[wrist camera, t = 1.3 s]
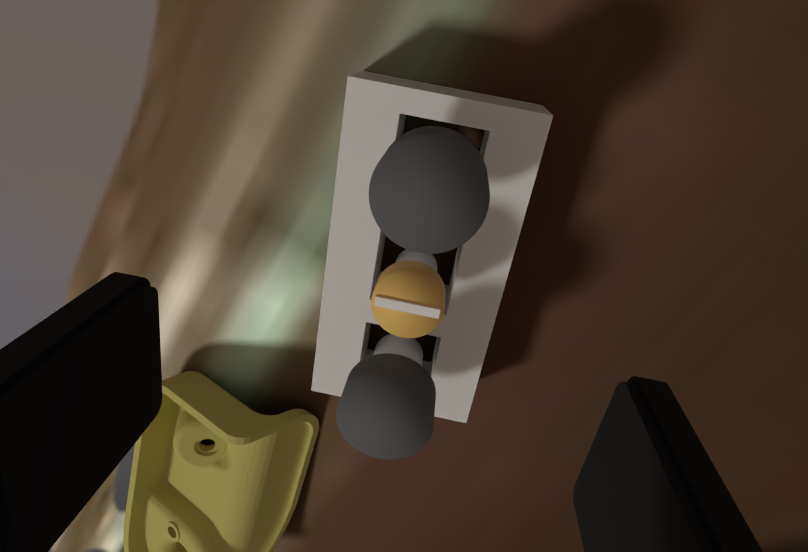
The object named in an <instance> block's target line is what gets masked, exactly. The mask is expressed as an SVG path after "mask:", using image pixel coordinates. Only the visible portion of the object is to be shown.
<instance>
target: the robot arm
mask: <svg viewBox="0 0 808 552" xmlns="http://www.w3.org/2000/svg"><path fill="white" fill-rule="evenodd" d="M161 404H162V375H161V352H160V328H159V305H158V292H157V290H156V288H154V287H151V285H150V283H149V280H148V279H146V278H143V277H138V276H133V275H129V274H124V273H118V272H114V273H112V274H110V275H108V276H107V277H106V278H104V279H103V280H101V281H100V282H98V283H97V284H95V285H94V286H92V287H91V288H89V289H88V290H87V291H85V292H84V293H82V294H81V295H79V296H78V297H76V298H75V299H73V300H72V301H70V302H69V303H68V304H66V305H65V306H63V307H62V308H60V309H59V310H57V311H56V312H55V313H53V314H52V315H50V316H49V317H48V318H46V319H44V320H43V321H41V322H40V323H38V324H37V325H35V326H34V327H33V328H31V329H30V330H28V331H27V332H25V333H24V334H22V335H21V336H19V337H18V338H17V339H15V340H14V341H12V342H11V343H9V344H8V345H6V346H5V347H3V348H2V349H0V552H48V551H49V550H50V548H51V547H52V546H53V545H54V543H55V542H56V541H57V540H58V538H59V537H60V536H61V535H62V533H63V532H64V531H65V530H66V528H67V527H68V526H69V525H70V523H71V522H72V521H73V520H74V518H75V517H76V516H77V515H78V514H79V512H80V511H81V510H82V509H83V507H84V506H85V505H86V504H87V502H88V501H89V500H90V499H91V497H92V496H93V495H94V494H95V492H96V491H97V490H98V489H99V487H100V486H101V485H102V484H103V482H104V481H105V480H106V479H107V477H108V476H109V475H110V474H111V472H112V471H113V470H114V469H115V467H116V466H117V465H118V464H119V462H120V461H121V460H122V459H123V457H124V456H125V455H126V454H127V452H128V451H129V450H130V449H131V447H132V446H133V445H134V444H135V443H136V441H137V440H138V439H139V438H140V436H141V435H142V434H143V433H144V431H145V430H146V429H147V428H148V426H149V425H150V424H151V423H152V421H153V420H154V419H155V418H156V416H157V415H158V413H159V410H160V408H161ZM573 501H574V507H575V511H576V516H577V520H578V525H579V529H580V533H581V538H582V542H583V547H584V551H585V552H763V551H762V549H761V548H760V546H759V544H758V542H757V541H756V539H755V537H754V535H753V534H752V532H751V530H750V528H749V527H748V525H747V523H746V521H745V519H744V518H743V516H742V514H741V512H740V511H739V509H738V507H737V505H736V504H735V502H734V500H733V498H732V497H731V495H730V493H729V491H728V490H727V488H726V486H725V484H724V482H723V481H722V479H721V477H720V475H719V474H718V472H717V470H716V468H715V467H714V465H713V463H712V461H711V460H710V458H709V456H708V454H707V452H706V451H705V449H704V447H703V445H702V444H701V442H700V440H699V438H698V437H697V435H696V433H695V431H694V430H693V428H692V426H691V424H690V422H689V421H688V419H687V417H686V415H685V414H684V412H683V410H682V408H681V407H680V405H679V403H678V401H677V400H676V398H675V396H674V394H673V393H672V391H671V389H670V387H669V386H668V385H667V383H665V382H662V381H657V380H652V379H647V378H642V377H637V376H633V377H631V378H630V379H629V380H628V382H620V383H619V384H618V385H617V387H616V389H615V392H614V394H613V396H612V399H611V401H610V403H609V406H608V408H607V410H606V413H605V415H604V417H603V420H602V422H601V425H600V427H599V429H598V432H597V434H596V436H595V439H594V441H593V443H592V446H591V448H590V450H589V453H588V455H587V457H586V460H585V462H584V465H583V467H582V469H581V472H580V474H579V476H578V479H577V481H576V484H575V487H574V494H573Z"/></svg>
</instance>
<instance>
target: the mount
mask: <svg viewBox="0 0 808 552" xmlns="http://www.w3.org/2000/svg"><path fill="white" fill-rule="evenodd" d="M406 115H410V116H416V117H421V118H426V119H431V120H436V121H441V122H446V123H452V124H457V125H462V126H467V127H472V128H477V129H483V130H485V132H484V136H483V140H482V144H481V149H480V153H481V155H482V157H483V159H484V162H485V165H486V169H487V174H488V182H489V190H490V202H489V208H488V212H487V215H486V218H485V220H484V222H483V224H482V225H481V227H480V228H479V230H478V231H477V232H476V233H475V235H474V236H473V237H472V238H470V239H469V240H468V241H467V242H465V243H464V244H463V245H461V246H459V247H458V248H457V252H456V256H455V261H454V265H453V269H452V274H451V278H450V282H449V285H445V291H446V297H445V309H444V315H443V318H442V320H441V322H440V323H439V325H438V326H437V327H436V328H435V329H434V330H433V331H432V332H430V333H428V334H426V335H431V336H436V337H437V338H436V343H435V347H434V351H433V356H432V360H431V362H428V361H423V360H422V366H423V367H424V368H425V369H426V370H427V372H428V373H429V374H430V376H431V377H432V379H433V381H434V384H435V389H436V401H435V413H434V416H435V417H440V418H445V419H449V420H454V421H459V422H464V423H466V422H467V418H468V414H469V411H470V407H471V404H472V400H473V397H474V393H475V390H476V386H477V383H478V379H479V376H480V372H481V369H482V365H483V362H484V358H485V355H486V351H487V348H488V344H489V340H490V337H491V333H492V330H493V326H494V323H495V319H496V316H497V312H498V309H499V305H500V302H501V298H502V295H503V291H504V288H505V284H506V281H507V277H508V274H509V270H510V267H511V263H512V259H513V256H514V252H515V249H516V245H517V242H518V238H519V235H520V231H521V228H522V224H523V221H524V217H525V214H526V210H527V207H528V203H529V200H530V196H531V193H532V189H533V185H534V182H535V178H536V175H537V171H538V168H539V164H540V161H541V157H542V154H543V150H544V147H545V143H546V140H547V136H548V133H549V129H550V126H551V122H552V119H553V115H552V114H551V113H550V112H549V111H548V110H547V109H546V108H545V107H544V106H543V105H539V104H533V103H528V102H523V101H518V100H513V99H507V98H502V97H497V96H492V95H487V94H481V93H476V92H471V91H466V90H461V89H455V88H450V87H445V86H440V85H435V84H429V83H424V82H419V81H414V80H409V79H403V78H398V77H393V76H388V75H383V74H377V73H372V72H367V71H361V72H358V73H355V74H352V75H349V76H348V79H347V87H346V96H345V105H344V113H343V122H342V130H341V139H340V147H339V156H338V165H337V173H336V182H335V190H334V199H333V207H332V216H331V225H330V233H329V242H328V250H327V259H326V267H325V276H324V285H323V293H322V302H321V310H320V319H319V327H318V336H317V345H316V353H315V362H314V370H313V379H312V387H311V391H316V392H321V393H325V394H330V395H335V396H340V397H341V395H342V392H343V390H344V387H345V384H346V381H347V378H348V376H349V373H350V372H351V370H352V369H353V367H354V366H355V365H356V364H357V363H359V362H360V361H361V360H363V359H365V358H367V357H369V356H372V355H373V354H374V351H375V350H370V349H367V347H368V341H369V335H370V329H371V323H373V324H378V323H377V321H376V320H375V318H374V316H373V313H372V309H371V298H372V294H373V291H374V289H375V286H376V283H377V281H378V278H379V276H380V275H381V273H382V272H380V269H381V263H382V257H383V251H384V245H385V239H386V235H385V234H384V233H383V232H382V231H381V229H380V228H379V226H378V225H377V223H376V221H375V219H374V217H373V215H372V212H371V209H370V204H369V185H370V180H371V177H372V174H373V171H374V169H375V167H376V165H377V164H378V162H379V161H380V159H381V158H382V156H383V155H384V154H385V152H386V151H387V149H388V148H389V146H390V145H391V144H392V143H393V142H394V141H395V140H396V139H397V138H399V137H400V136H401V135H403V131H404V125H405V119H406ZM378 325H379V324H378Z"/></svg>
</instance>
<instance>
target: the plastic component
mask: <svg viewBox="0 0 808 552" xmlns="http://www.w3.org/2000/svg"><path fill="white" fill-rule="evenodd" d="M318 431H319V421H318V419H317V418H316V417H315V416H314V415H312V414H311V413H309V412H308V411H306V410H304V409H291V410H288V411H286V412H283V413H281V414H278V415H263V414H259V413H257V412H255V411H253V410H251V409H250V408H248V407H247V406H246V405H244V404H243V403H242V402H240V401H239V400H237V399H236V398H235V397H233V396H232V395H231V394H229V393H228V392H227V391H225V390H224V389H222V388H221V387H220V386H218V385H217V384H216V383H214V382H213V381H212V380H210V379H209V378H207V377H206V376H205V375H203V374H201V373H199V372H196V371H186V372H183V373H180V374H178V375H175V376H173V377H170V378H168V379H165V380H162V404H161V408H160V410H159V413H158V415H157V416H156V418H155V419H154V420H153V421H152V423H151V424H150V425H149V426H148V428H147V429H146V430H145V431H144V433H143V434H142V435H141V436H140V438H139V439H138V440H137V441H136V443H135V448H134V456H133V463H132V470H131V478H130V484H129V492H128V499H127V506H126V514H125V523H124V551H125V552H273V550H274V549H275V547H276V545H277V544H278V542H279V540H280V539H281V537H282V535H283V533H284V531H285V529H286V527H287V525H288V523H289V521H290V519H291V517H292V515H293V512H294V510H295V507H296V505H297V502H298V499H299V496H300V492H301V489H302V485H303V482H304V479H305V475H306V472H307V468H308V465H309V462H310V458H311V455H312V452H313V448H314V445H315V441H316V438H317V435H318ZM203 439H211V440H213V441H214V442H215V443H214V444H212V445H203V444H201V443H200V441H202V440H203Z"/></svg>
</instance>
